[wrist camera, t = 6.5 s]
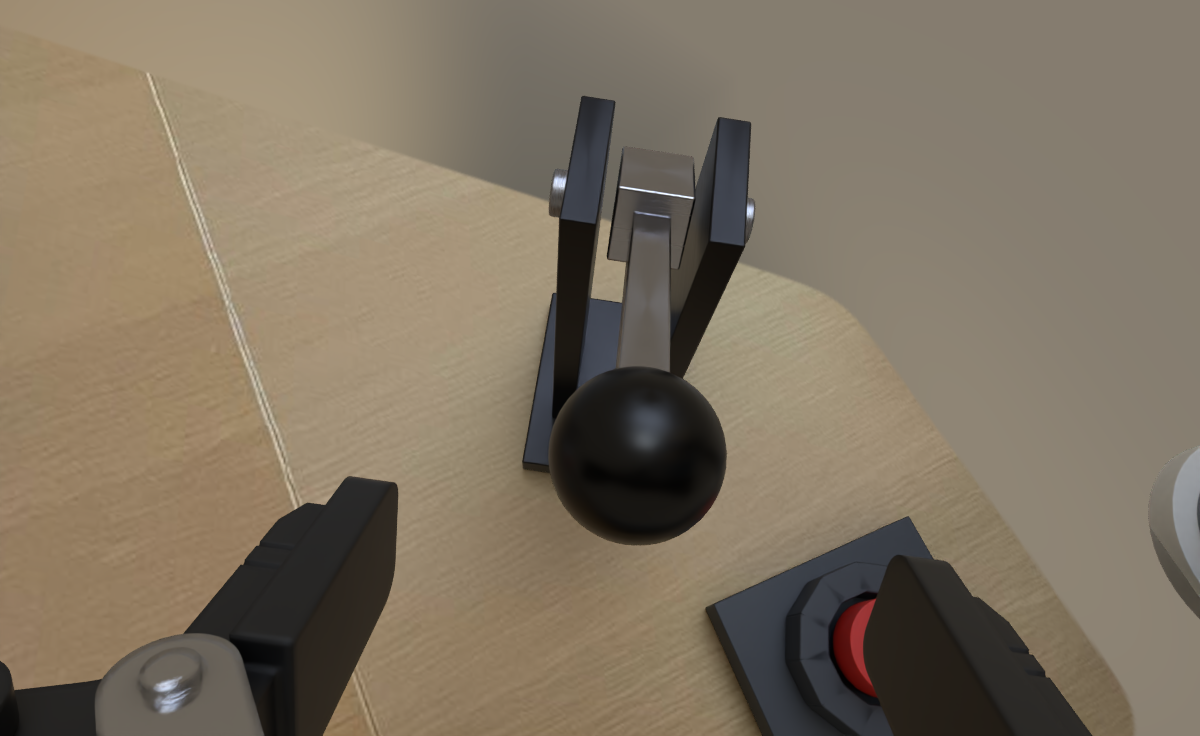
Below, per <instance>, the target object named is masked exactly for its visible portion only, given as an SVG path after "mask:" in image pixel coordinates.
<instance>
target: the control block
mask: <svg viewBox="0 0 1200 736" xmlns="http://www.w3.org/2000/svg"><path fill="white" fill-rule="evenodd" d="M895 555H906V556H913V557H920V558H927V559H933V557H932V555H931V554H930V552H929V550H928V549H927V547H926V545H925V543H924V542H923V540H922V538H921V537H920V535H919V533H918V531H917V530H916V528H915V526H914V524H913V523H912V521H911V519H910V518H909V516H907V517H905V518H903V519H900V520H898V521H896V522H893V523H891V524H889V525H887V526H884V527H882V528H880V529H878V530H876V531H873V532H871V533H869V534H867V535H865V536H862V537H860V538H858V539H856V540H854V541H851V542H849V543H847V544H845V545H842V546H840V547H838V548H836V549H834V550H831V551H829V552H827V553H825V554H823V555H820V556H818V557H816V558H814V559H812V560H809V561H807V562H805V563H803V564H801V565H798V566H796V567H794V568H792V569H789V570H787V571H785V572H783V573H781V574H778V575H776V576H774V577H772V578H770V579H767V580H765V581H763V582H761V583H759V584H756V585H754V586H752V587H750V588H748V589H745V590H743V591H741V592H739V593H736V594H734V595H732V596H730V597H728V598H725V599H723V600H721V601H719V602H717V603H714V604H712V605H710V606H708V607H706V611H707V613H708V615H709V617H710V620H711V622H712V624H713V626H714V629H715V631H716V633H717V635H718V637H719V640H720V642H721V644H722V646H723V649H724V651H725V653H726V655H727V657H728V660H729V662H730V664H731V666H732V669H733V671H734V673H735V675H736V677H737V680H738V682H739V684H740V686H741V689H742V691H743V693H744V695H745V698H746V700H747V702H748V704H749V706H750V709H751V711H752V713H753V715H754V718H755V720H756V722H757V724H758V726H759V729H760V731H761V733H762V735H763V736H894V735H893V733H892V730H891V728H890V726H889V723H888V721H887V718H886V716H885V714H884V711H883V709H882V707H881V704H880V702H879V700H878V698H876V697H872V696H869V695H867V694H865V693H863V692H861V691H860V690H858V689H857V688H855V687H854V686H853V685H852V684H851V683H850V682H849V681H848V680H847V679H846V677H845V676H844V675H843V673H842V672H841V670H840V668H839V666H838V664H837V661H836V658H835V655H834V650H833V634H834V629H835V626H836V623H837V621H838V619H839V618H840V616H841V615H842V613H843V612H844V611H845V610H846V609H848V608H849V607H850V606H852V605H854V604H856V603H859V602H863V601H867V600H872V599H876V597H877V594H878V591H879V589H880V586H881V583H882V580H883V577H884V574H885V571H886V569H887V566H888V564H889V562H890V560H891V559H892V558H893V557H894V556H895Z"/></svg>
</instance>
